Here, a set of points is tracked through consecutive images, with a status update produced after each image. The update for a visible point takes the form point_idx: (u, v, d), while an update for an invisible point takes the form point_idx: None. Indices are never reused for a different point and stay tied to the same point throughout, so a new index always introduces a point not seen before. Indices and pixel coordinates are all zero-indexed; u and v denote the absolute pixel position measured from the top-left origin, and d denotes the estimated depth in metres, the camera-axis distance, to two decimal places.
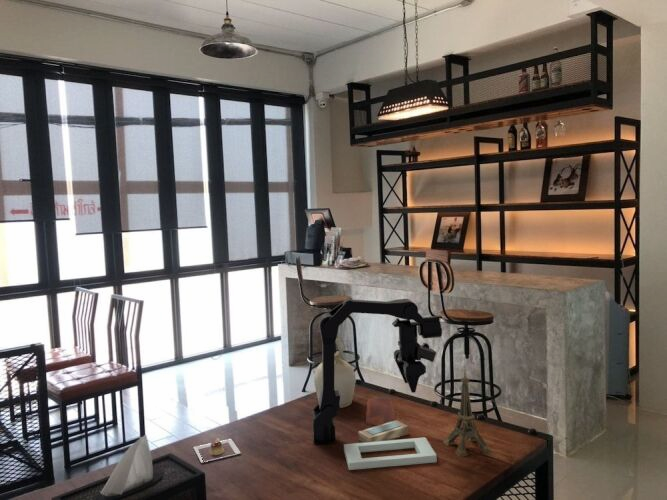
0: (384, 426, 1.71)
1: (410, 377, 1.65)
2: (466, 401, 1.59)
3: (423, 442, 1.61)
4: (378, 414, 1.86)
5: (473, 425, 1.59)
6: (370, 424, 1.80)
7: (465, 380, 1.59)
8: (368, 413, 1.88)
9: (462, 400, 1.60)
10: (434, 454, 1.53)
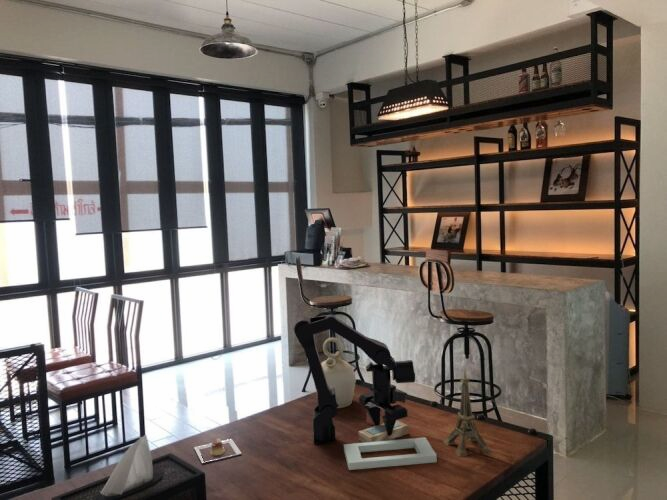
0: (384, 426, 1.71)
1: (388, 421, 1.65)
2: (466, 401, 1.59)
3: (423, 442, 1.61)
4: None
5: (473, 425, 1.59)
6: (370, 424, 1.79)
7: (465, 380, 1.59)
8: None
9: (462, 400, 1.60)
10: (434, 454, 1.53)
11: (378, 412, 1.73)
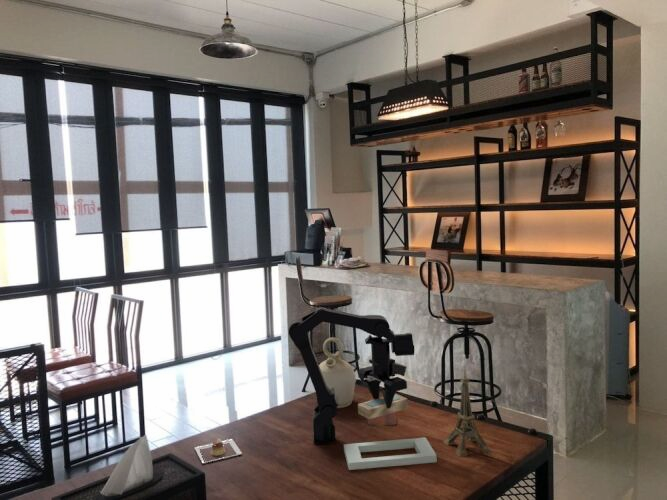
0: (383, 399, 1.71)
1: (388, 393, 1.65)
2: (466, 401, 1.59)
3: (423, 442, 1.61)
4: None
5: (473, 425, 1.59)
6: (372, 424, 1.79)
7: (465, 380, 1.59)
8: None
9: (462, 400, 1.60)
10: (434, 454, 1.53)
11: (377, 386, 1.73)
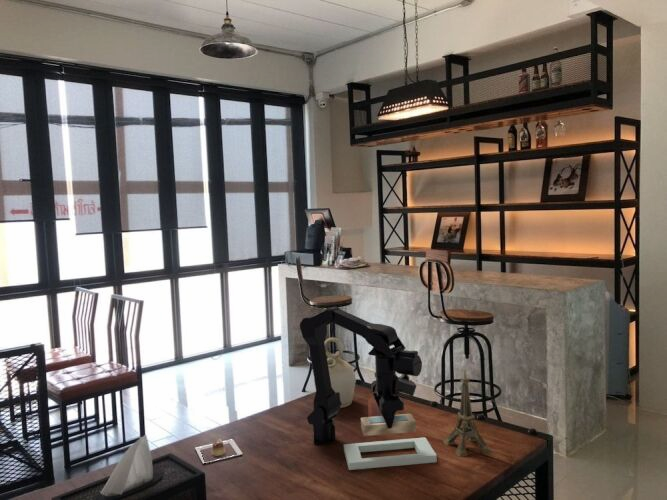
0: None
1: (386, 412, 1.51)
2: (466, 401, 1.59)
3: (423, 442, 1.61)
4: (380, 414, 1.86)
5: (473, 425, 1.59)
6: None
7: (465, 380, 1.59)
8: (370, 413, 1.87)
9: (462, 400, 1.60)
10: (434, 454, 1.53)
11: None
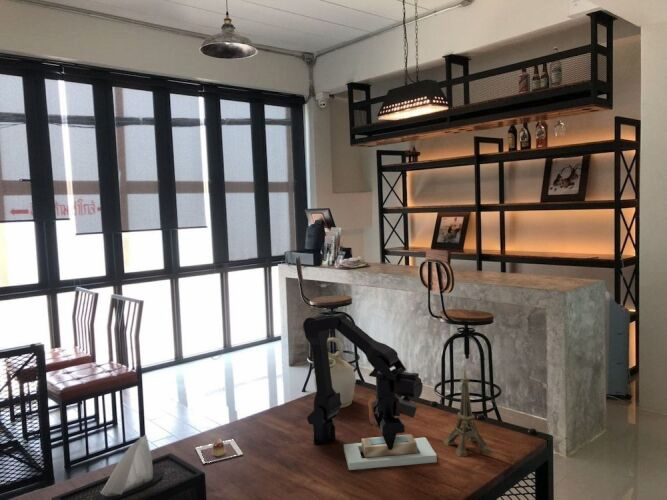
0: None
1: (386, 434, 1.52)
2: (466, 401, 1.59)
3: (423, 442, 1.61)
4: None
5: (473, 425, 1.59)
6: (374, 424, 1.79)
7: (465, 380, 1.59)
8: (371, 413, 1.87)
9: (462, 400, 1.60)
10: (434, 454, 1.53)
11: None
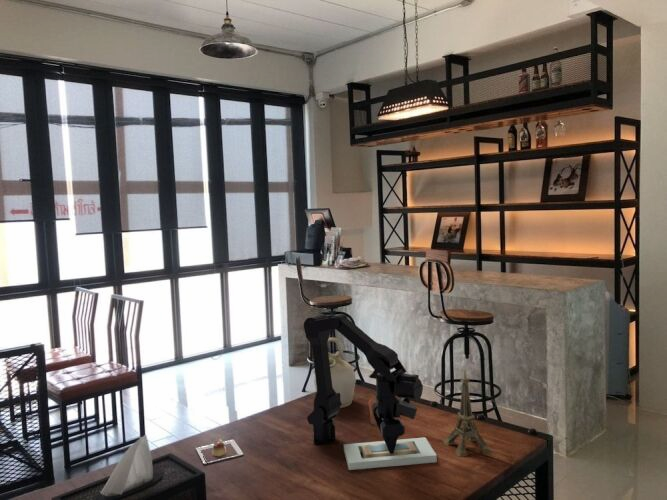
0: None
1: (388, 437, 1.50)
2: (466, 401, 1.59)
3: (423, 442, 1.61)
4: None
5: (473, 425, 1.59)
6: (375, 425, 1.79)
7: (465, 380, 1.59)
8: (372, 414, 1.87)
9: (462, 400, 1.60)
10: (434, 454, 1.53)
11: None
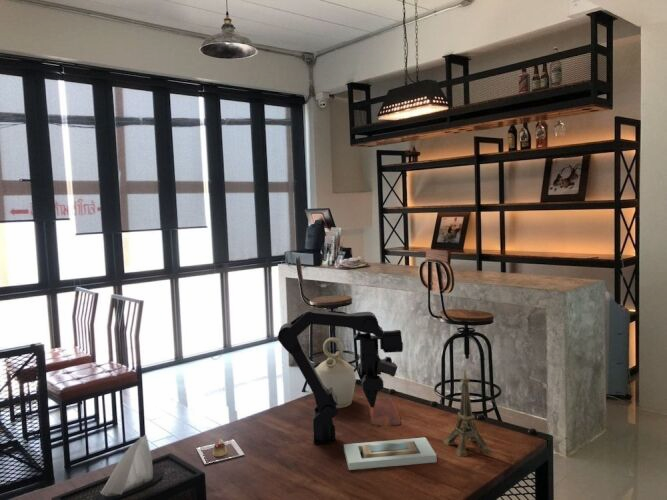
0: (391, 445, 1.58)
1: (368, 392, 1.63)
2: (466, 401, 1.59)
3: (423, 442, 1.61)
4: (382, 414, 1.86)
5: (473, 425, 1.59)
6: (376, 424, 1.79)
7: (465, 380, 1.59)
8: (372, 414, 1.87)
9: (462, 400, 1.60)
10: (434, 454, 1.53)
11: None
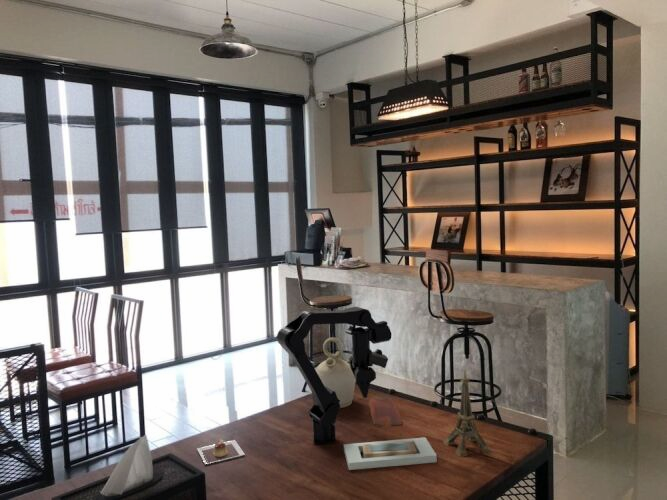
0: (391, 446, 1.57)
1: (361, 383, 1.70)
2: (466, 401, 1.59)
3: (423, 442, 1.61)
4: (384, 415, 1.86)
5: (473, 425, 1.59)
6: (378, 425, 1.79)
7: (465, 380, 1.59)
8: (373, 414, 1.87)
9: (462, 400, 1.60)
10: (434, 454, 1.53)
11: None
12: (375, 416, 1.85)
